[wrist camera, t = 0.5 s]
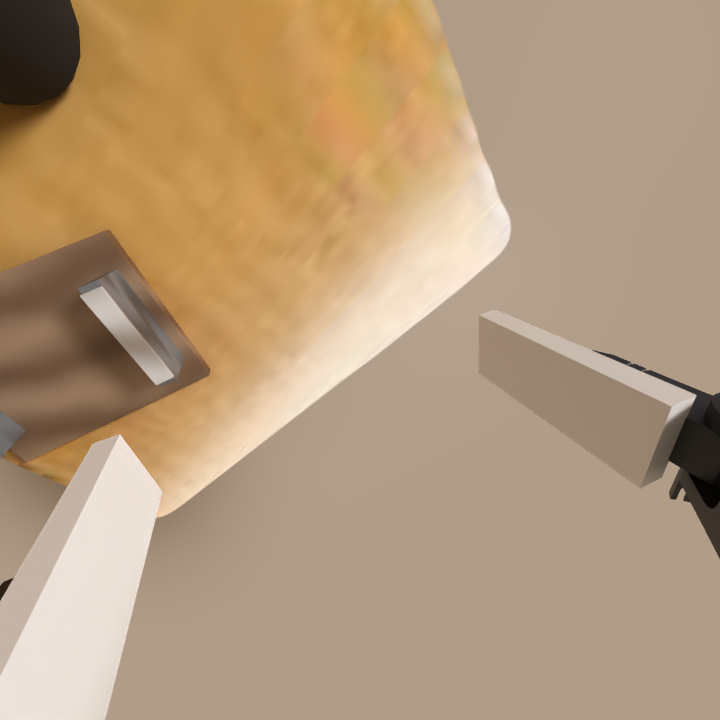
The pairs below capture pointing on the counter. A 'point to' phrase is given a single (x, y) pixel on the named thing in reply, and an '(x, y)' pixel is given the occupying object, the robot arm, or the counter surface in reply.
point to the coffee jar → (37, 49)
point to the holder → (83, 346)
